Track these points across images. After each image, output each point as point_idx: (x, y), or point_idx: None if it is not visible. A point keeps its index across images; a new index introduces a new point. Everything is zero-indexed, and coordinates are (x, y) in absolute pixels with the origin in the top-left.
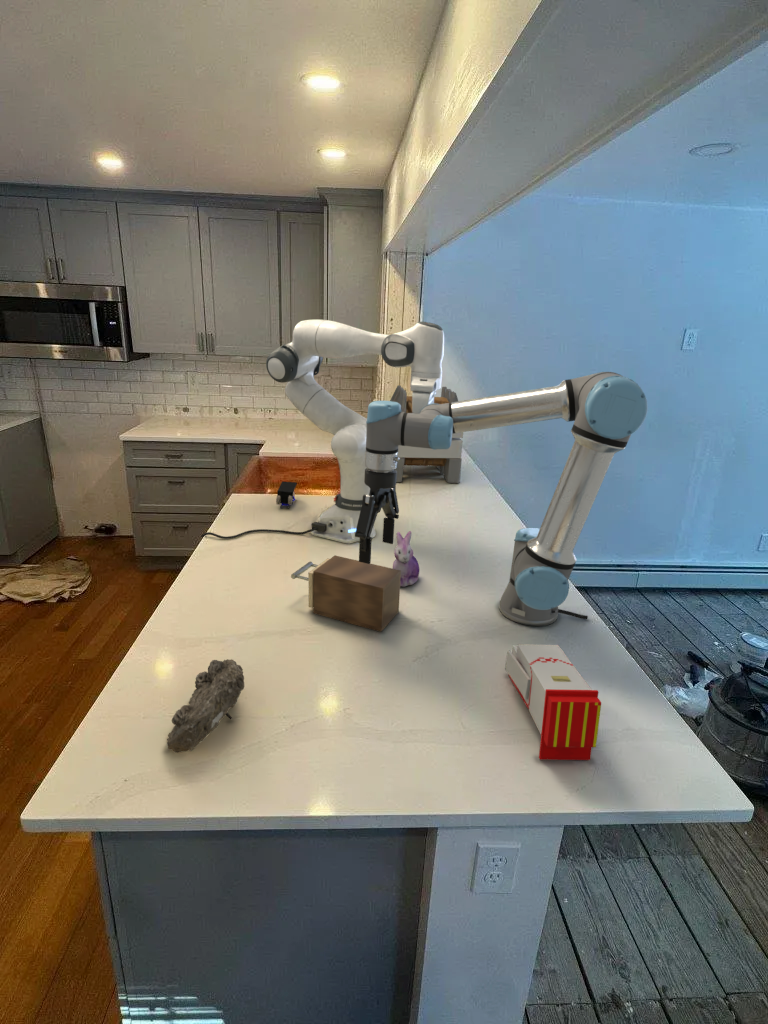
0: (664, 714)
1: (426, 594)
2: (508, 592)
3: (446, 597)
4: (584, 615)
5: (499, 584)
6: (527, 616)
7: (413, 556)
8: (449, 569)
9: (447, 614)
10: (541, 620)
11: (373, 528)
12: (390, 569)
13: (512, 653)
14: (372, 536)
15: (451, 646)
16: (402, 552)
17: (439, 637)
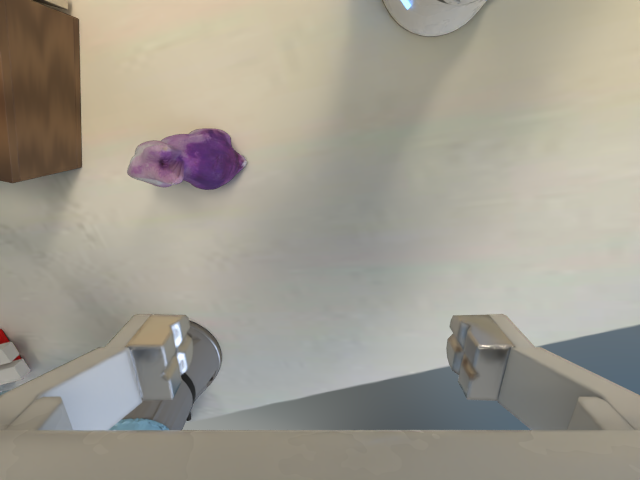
0: None
1: (168, 205)
2: None
3: (172, 240)
4: (187, 417)
5: (255, 317)
6: None
7: (205, 179)
8: (287, 235)
9: (116, 246)
10: None
11: (434, 24)
12: (2, 159)
13: (6, 343)
14: (413, 30)
15: (28, 259)
16: (129, 166)
17: (42, 241)
